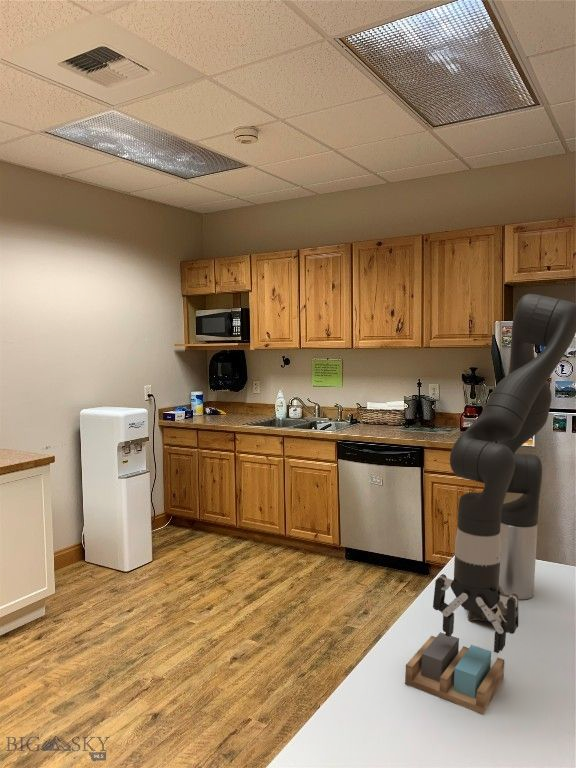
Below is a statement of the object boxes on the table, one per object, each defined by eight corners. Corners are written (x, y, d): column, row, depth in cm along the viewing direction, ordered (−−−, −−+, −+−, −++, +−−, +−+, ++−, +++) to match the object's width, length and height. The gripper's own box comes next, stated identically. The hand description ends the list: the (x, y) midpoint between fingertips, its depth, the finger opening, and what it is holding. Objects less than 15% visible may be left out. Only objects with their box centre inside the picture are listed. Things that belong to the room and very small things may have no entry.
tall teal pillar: (470, 665, 106) (471, 644, 106) (490, 672, 104) (491, 651, 104) (453, 690, 99) (454, 668, 98) (474, 698, 97) (476, 675, 96)
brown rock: (519, 631, 119) (497, 587, 119) (477, 644, 122) (455, 601, 122) (515, 606, 129) (495, 565, 130) (476, 618, 132) (456, 578, 133)
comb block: (430, 652, 112) (431, 635, 112) (503, 678, 104) (504, 659, 104) (405, 683, 102) (405, 664, 102) (483, 714, 94) (484, 693, 94)
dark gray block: (439, 652, 110) (440, 632, 110) (458, 658, 108) (459, 638, 108) (421, 675, 103) (421, 653, 103) (440, 682, 101) (441, 660, 101)
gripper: (429, 551, 102) (426, 638, 104) (514, 572, 93) (508, 667, 95) (445, 538, 108) (441, 621, 110) (526, 557, 100) (520, 646, 101)
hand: (473, 642), depth 102 cm, fingers open, 8 cm apart
